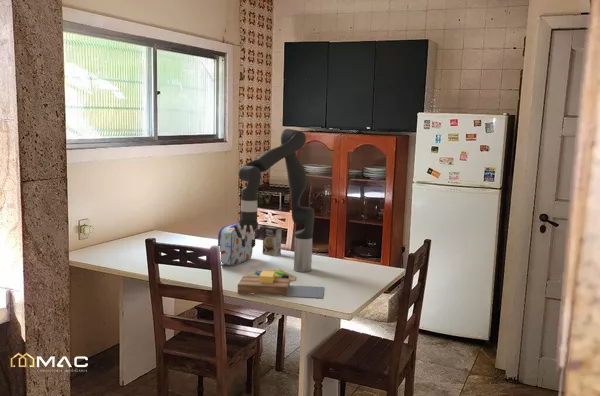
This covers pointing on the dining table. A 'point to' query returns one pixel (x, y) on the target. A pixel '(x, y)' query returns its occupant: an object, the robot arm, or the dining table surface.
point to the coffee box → (272, 240)
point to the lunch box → (234, 245)
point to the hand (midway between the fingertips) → (248, 246)
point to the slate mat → (305, 291)
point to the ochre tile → (267, 277)
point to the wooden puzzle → (277, 274)
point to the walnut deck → (264, 286)
